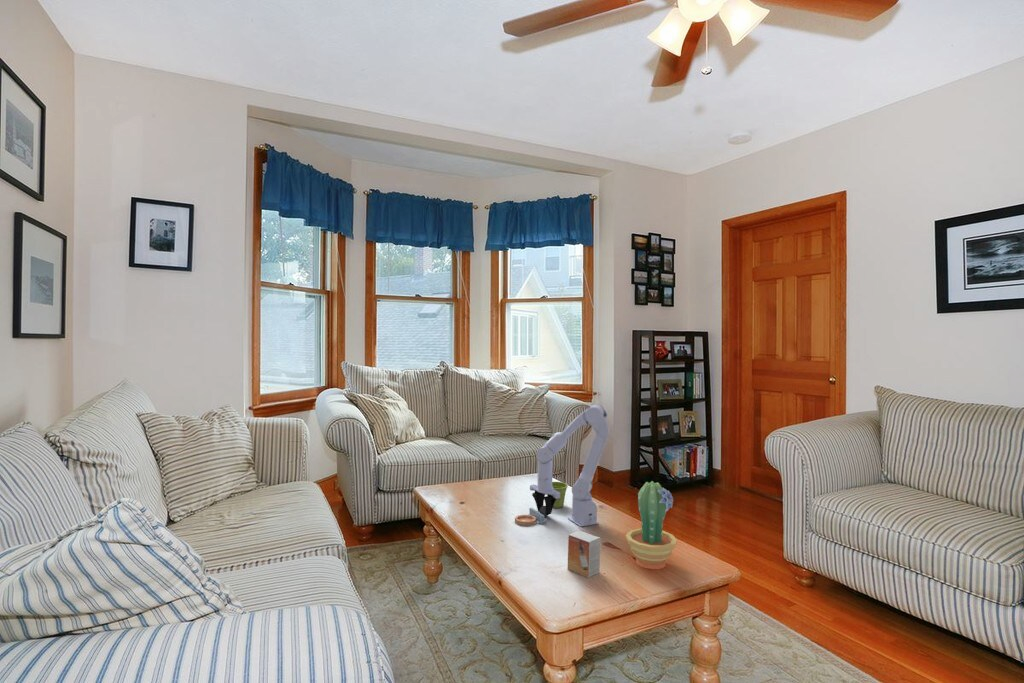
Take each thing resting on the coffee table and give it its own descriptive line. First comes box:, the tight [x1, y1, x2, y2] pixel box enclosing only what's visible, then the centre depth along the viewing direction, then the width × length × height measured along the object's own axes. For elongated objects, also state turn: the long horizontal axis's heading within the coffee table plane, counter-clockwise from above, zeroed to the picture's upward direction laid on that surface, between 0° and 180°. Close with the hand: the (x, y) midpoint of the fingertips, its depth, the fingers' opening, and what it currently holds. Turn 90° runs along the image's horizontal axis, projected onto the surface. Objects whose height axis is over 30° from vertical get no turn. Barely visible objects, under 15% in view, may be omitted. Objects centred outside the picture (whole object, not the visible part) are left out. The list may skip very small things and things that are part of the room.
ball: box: [539, 505, 549, 518], centre depth 205 cm, size 4×4×4 cm
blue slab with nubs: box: [528, 507, 547, 525], centre depth 201 cm, size 10×2×3 cm, turn 26°
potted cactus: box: [625, 480, 678, 570], centre depth 164 cm, size 15×15×25 cm
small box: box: [567, 530, 601, 578], centre depth 158 cm, size 8×6×10 cm
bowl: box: [514, 514, 537, 527], centre depth 199 cm, size 8×8×1 cm
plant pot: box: [546, 481, 569, 509], centre depth 218 cm, size 9×9×9 cm
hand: (544, 512), depth 205 cm, fingers closed on ball, 4 cm apart
